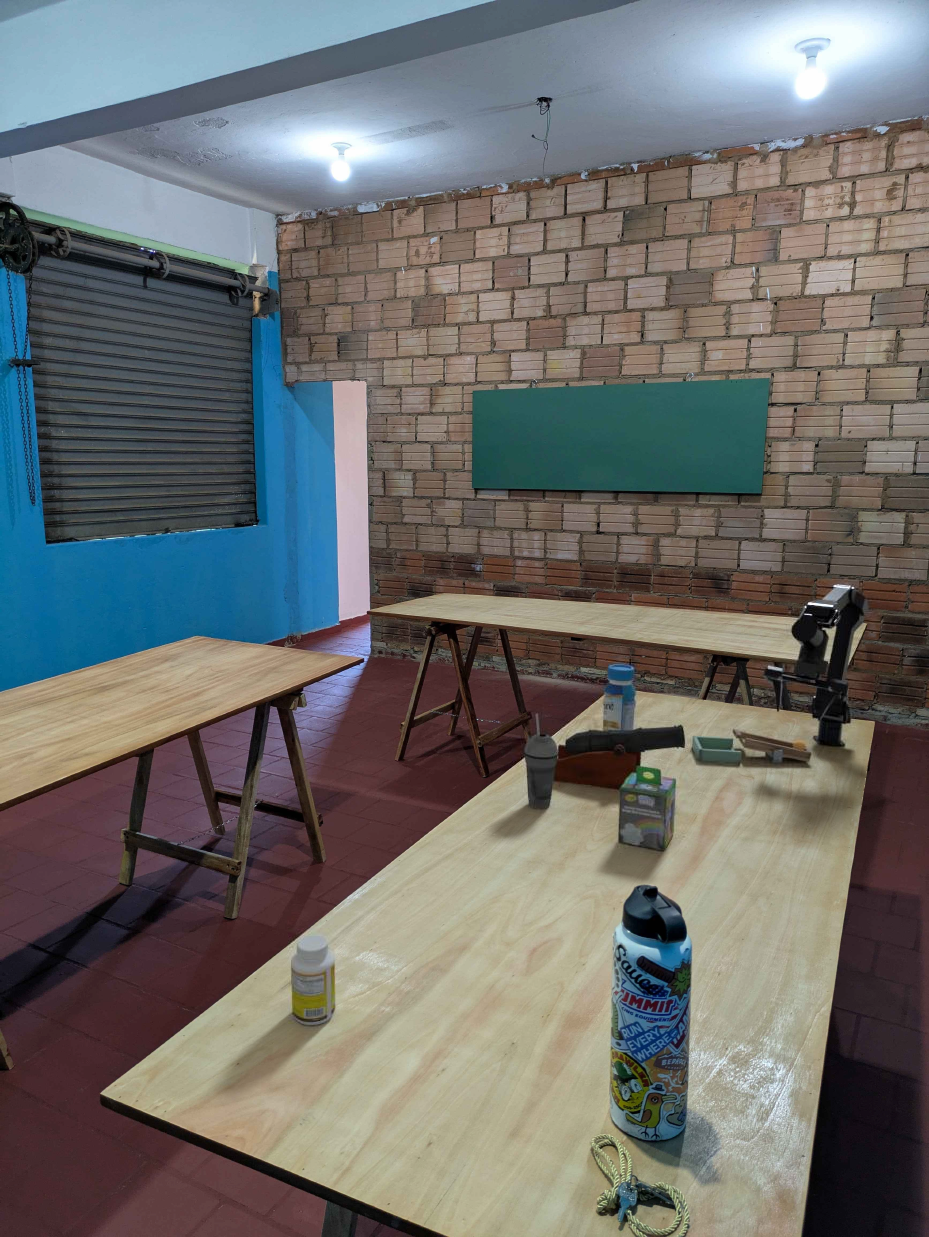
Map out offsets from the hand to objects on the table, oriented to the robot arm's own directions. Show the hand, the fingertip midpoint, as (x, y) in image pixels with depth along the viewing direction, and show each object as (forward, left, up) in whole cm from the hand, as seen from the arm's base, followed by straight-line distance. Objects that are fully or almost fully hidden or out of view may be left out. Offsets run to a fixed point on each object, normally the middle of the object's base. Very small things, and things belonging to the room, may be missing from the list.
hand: (798, 716), depth 201 cm
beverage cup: (+31, -60, -14) cm, 69 cm away
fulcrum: (-8, -3, -14) cm, 16 cm away
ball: (-8, +3, -10) cm, 14 cm away
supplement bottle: (+105, -87, -14) cm, 137 cm away
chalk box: (+44, -39, -14) cm, 60 cm away
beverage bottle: (-15, -41, -14) cm, 46 cm away
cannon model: (+14, -43, -14) cm, 47 cm away
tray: (-8, -17, -14) cm, 23 cm away
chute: (-11, -3, -12) cm, 16 cm away
